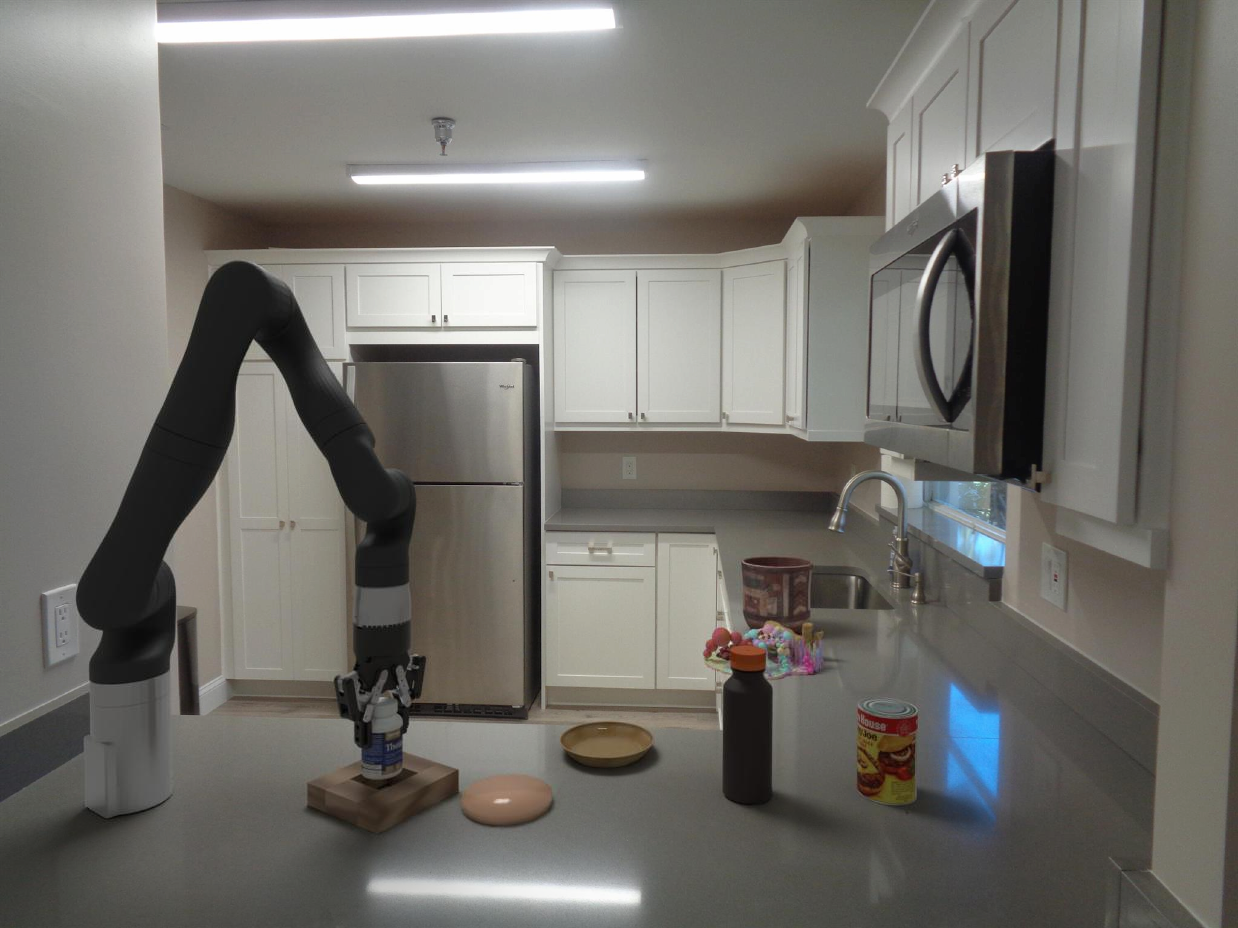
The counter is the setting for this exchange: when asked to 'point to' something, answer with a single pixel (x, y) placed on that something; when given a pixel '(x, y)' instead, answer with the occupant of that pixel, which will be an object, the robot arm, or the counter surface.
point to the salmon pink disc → (506, 799)
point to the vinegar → (747, 728)
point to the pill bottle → (384, 742)
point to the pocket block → (382, 792)
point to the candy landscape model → (770, 649)
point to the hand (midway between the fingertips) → (382, 739)
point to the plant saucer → (606, 743)
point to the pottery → (776, 591)
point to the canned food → (887, 750)
